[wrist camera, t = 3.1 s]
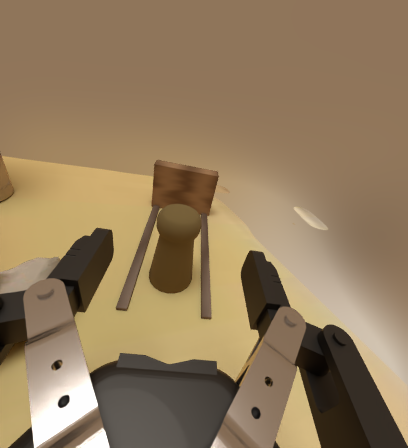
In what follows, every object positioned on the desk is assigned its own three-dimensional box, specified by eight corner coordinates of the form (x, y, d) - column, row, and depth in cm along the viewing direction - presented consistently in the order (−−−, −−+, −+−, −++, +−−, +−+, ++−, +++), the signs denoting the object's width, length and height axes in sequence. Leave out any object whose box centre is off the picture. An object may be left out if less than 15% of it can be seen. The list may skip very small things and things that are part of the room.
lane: (112, 309, 24) (107, 253, 19) (153, 200, 45) (156, 159, 40) (213, 319, 25) (234, 270, 20) (208, 209, 46) (217, 171, 41)
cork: (186, 258, 33) (199, 197, 27) (196, 290, 28) (214, 226, 22) (147, 261, 31) (151, 196, 25) (151, 296, 26) (157, 227, 20)
